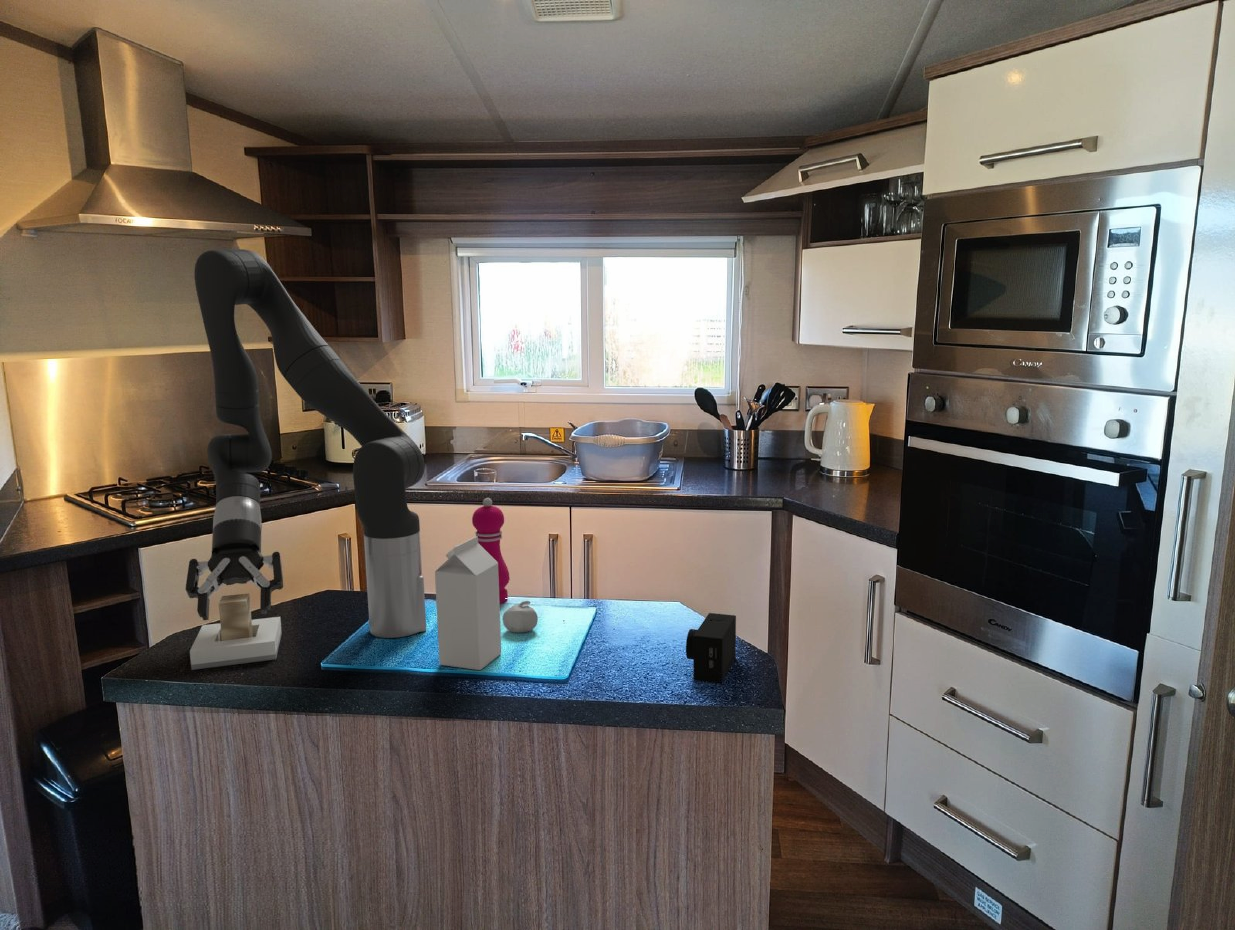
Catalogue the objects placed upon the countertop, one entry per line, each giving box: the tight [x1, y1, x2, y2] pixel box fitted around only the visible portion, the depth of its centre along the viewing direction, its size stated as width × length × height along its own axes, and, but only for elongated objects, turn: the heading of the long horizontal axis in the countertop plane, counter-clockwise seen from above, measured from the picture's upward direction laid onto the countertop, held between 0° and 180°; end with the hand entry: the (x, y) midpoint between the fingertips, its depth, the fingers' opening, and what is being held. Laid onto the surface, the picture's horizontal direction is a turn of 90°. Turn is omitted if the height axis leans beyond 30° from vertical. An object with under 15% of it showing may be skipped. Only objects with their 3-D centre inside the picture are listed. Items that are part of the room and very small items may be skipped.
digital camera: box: [685, 612, 737, 685], centre depth 122 cm, size 10×5×7 cm, turn 161°
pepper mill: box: [471, 497, 510, 605], centre depth 153 cm, size 7×7×20 cm
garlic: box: [502, 600, 539, 634], centre depth 138 cm, size 6×5×5 cm
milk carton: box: [434, 535, 502, 671], centre depth 125 cm, size 7×7×19 cm
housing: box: [189, 616, 283, 671], centre depth 131 cm, size 12×12×3 cm
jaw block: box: [218, 592, 253, 641], centre depth 131 cm, size 4×4×8 cm
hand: (234, 615), depth 129 cm, fingers open, 8 cm apart
